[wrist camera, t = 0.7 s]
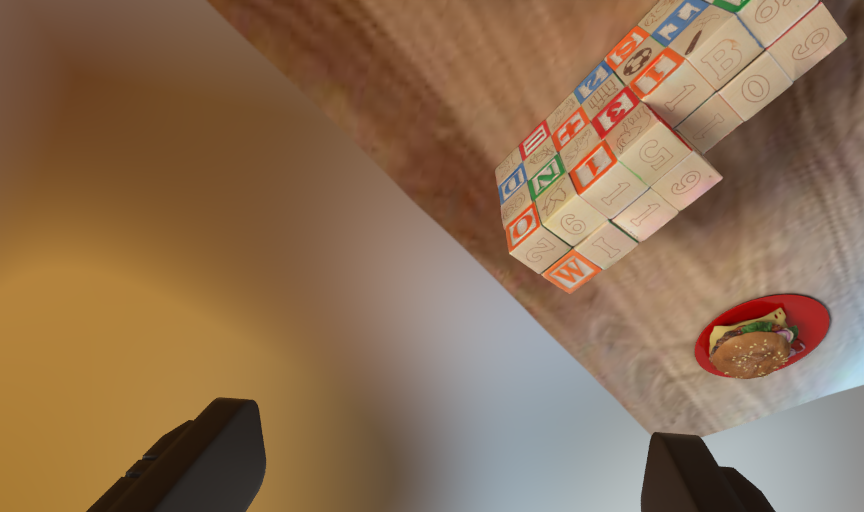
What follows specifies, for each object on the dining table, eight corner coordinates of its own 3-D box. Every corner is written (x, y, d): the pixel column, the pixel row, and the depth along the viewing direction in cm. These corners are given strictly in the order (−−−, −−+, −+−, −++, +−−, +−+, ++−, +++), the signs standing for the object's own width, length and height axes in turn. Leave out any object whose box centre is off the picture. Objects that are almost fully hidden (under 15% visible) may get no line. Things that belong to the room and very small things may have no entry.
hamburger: (703, 386, 59) (725, 429, 55) (683, 318, 52) (706, 360, 47) (828, 354, 55) (864, 397, 50) (825, 274, 48) (867, 316, 43)
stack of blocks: (711, -58, 31) (835, -36, 21) (762, 7, 33) (894, 54, 23) (492, 171, 41) (507, 256, 32) (542, 208, 43) (570, 298, 34)
